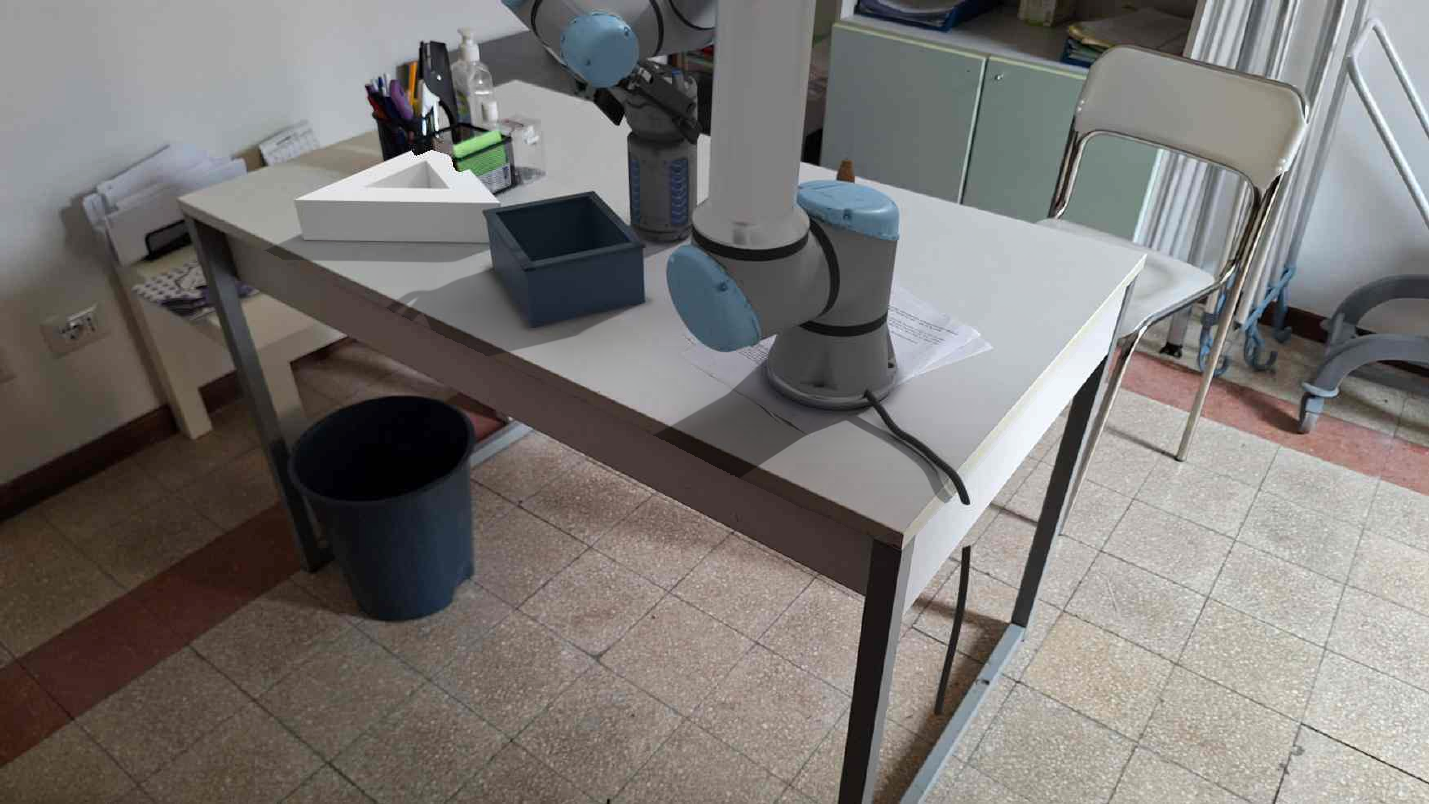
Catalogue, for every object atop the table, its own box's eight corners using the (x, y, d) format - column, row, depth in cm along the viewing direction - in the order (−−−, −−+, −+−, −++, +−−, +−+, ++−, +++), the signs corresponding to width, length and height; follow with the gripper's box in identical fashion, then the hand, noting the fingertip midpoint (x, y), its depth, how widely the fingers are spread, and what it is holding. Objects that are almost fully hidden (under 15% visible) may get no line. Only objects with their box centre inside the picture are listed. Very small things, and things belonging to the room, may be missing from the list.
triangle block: (446, 174, 168) (440, 138, 164) (567, 207, 157) (564, 169, 153) (303, 239, 147) (293, 199, 143) (433, 283, 136) (425, 241, 132)
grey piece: (668, 206, 158) (665, 45, 144) (712, 237, 149) (714, 69, 134) (611, 219, 153) (603, 55, 139) (653, 252, 144) (648, 80, 130)
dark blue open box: (648, 302, 132) (646, 244, 127) (531, 329, 126) (524, 268, 121) (597, 245, 146) (593, 190, 141) (489, 266, 140) (482, 210, 135)
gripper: (675, 29, 117) (741, 119, 136) (520, 1, 129) (601, 88, 147) (649, 85, 117) (719, 168, 135) (496, 52, 128) (580, 132, 147)
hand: (658, 126), depth 141 cm, fingers open, 13 cm apart
